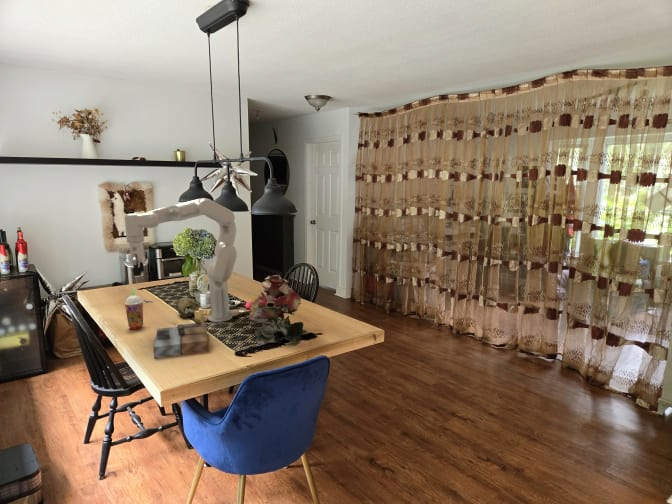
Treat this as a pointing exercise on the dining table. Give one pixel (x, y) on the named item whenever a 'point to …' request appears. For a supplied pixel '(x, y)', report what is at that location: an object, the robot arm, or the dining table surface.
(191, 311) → the mineral specimen
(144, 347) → the dining table surface
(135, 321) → the smoothie
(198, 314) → the switch lever
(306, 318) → the dining table surface
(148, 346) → the dining table surface
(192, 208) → the robot arm
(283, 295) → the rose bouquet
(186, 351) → the lever switch panel
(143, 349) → the dining table surface
